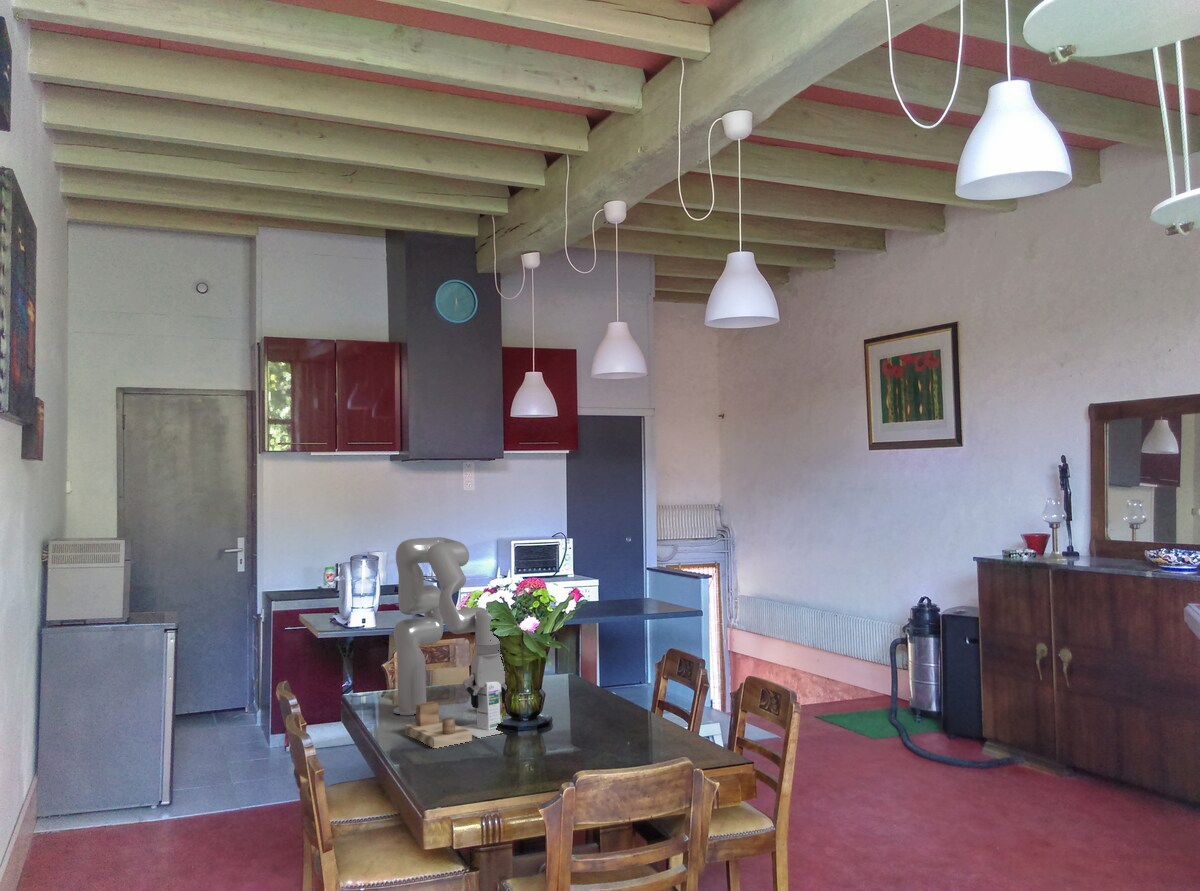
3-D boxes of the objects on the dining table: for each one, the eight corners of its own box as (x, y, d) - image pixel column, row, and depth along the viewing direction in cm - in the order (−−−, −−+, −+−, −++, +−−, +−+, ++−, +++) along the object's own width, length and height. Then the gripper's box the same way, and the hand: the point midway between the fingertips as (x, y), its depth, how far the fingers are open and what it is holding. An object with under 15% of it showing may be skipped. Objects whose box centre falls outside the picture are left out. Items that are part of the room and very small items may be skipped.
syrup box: (488, 730, 288) (487, 683, 289) (476, 728, 293) (475, 680, 293) (503, 727, 293) (501, 680, 293) (491, 724, 297) (489, 678, 298)
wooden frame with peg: (405, 734, 290) (404, 705, 290) (441, 728, 296) (440, 699, 297) (434, 748, 271) (433, 717, 272) (471, 741, 278) (471, 711, 279)
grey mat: (455, 729, 295) (455, 727, 295) (501, 721, 304) (501, 719, 304) (478, 738, 281) (478, 736, 281) (525, 730, 290) (524, 728, 290)
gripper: (506, 645, 302) (508, 699, 301) (457, 651, 292) (458, 707, 291) (518, 648, 296) (519, 703, 295) (467, 654, 286) (469, 711, 285)
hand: (489, 705), depth 293 cm, fingers open, 9 cm apart
